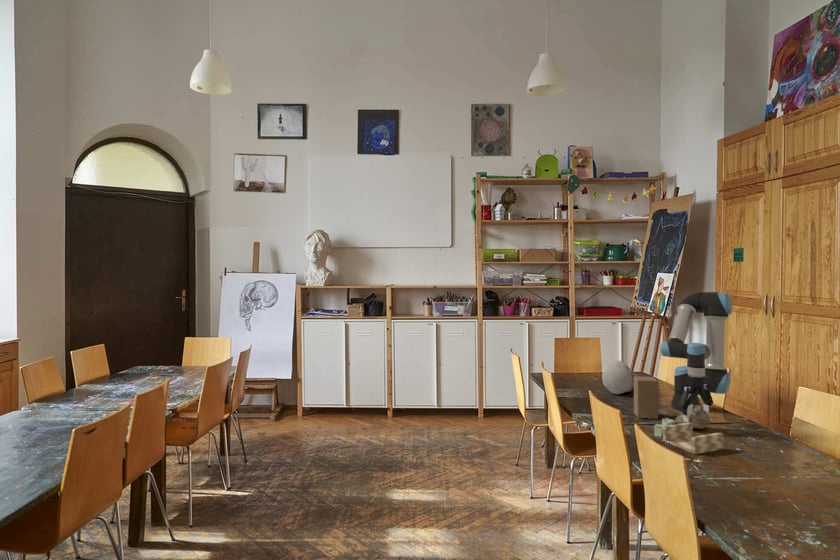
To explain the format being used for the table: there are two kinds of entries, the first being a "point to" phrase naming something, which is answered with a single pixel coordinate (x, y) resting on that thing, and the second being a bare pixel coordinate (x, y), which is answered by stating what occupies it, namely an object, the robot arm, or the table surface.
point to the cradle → (691, 439)
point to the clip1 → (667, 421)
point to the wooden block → (646, 397)
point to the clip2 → (658, 430)
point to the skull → (617, 377)
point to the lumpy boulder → (695, 417)
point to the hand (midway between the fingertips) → (696, 419)
